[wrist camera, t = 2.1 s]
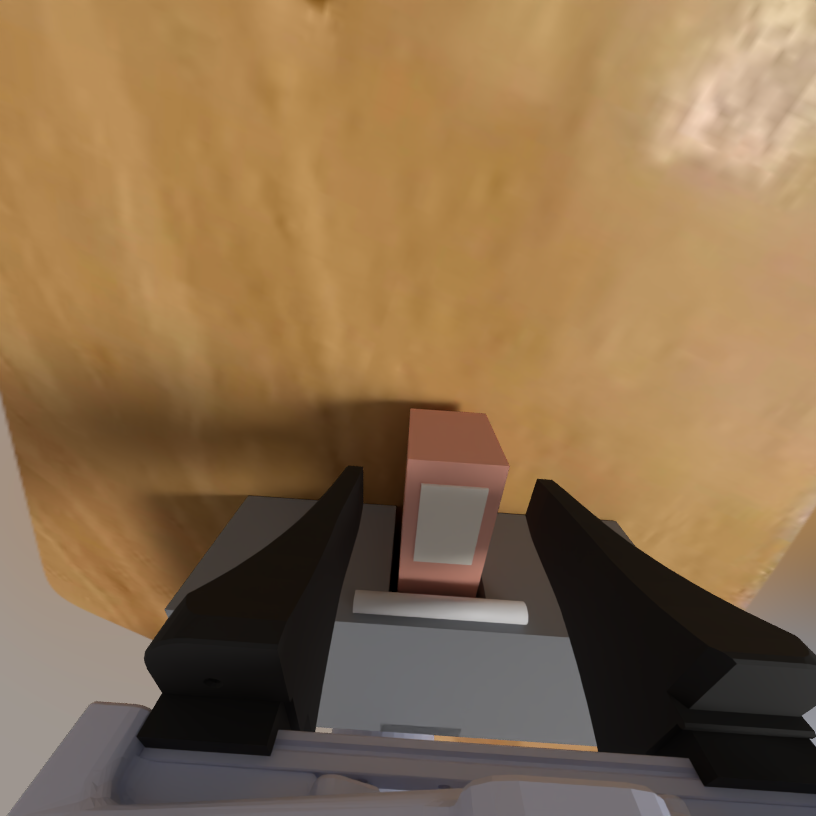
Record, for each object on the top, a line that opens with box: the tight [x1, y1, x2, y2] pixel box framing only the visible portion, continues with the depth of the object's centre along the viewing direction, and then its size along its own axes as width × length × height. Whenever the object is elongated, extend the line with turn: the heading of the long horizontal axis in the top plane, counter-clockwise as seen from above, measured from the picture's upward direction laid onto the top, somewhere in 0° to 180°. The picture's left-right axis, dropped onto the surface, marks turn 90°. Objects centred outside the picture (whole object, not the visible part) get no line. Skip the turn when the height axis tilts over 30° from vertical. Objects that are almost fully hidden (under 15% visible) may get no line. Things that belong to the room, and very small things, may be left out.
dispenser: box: [165, 496, 635, 746], centre depth 17 cm, size 11×22×6 cm, turn 86°
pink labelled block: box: [397, 408, 510, 598], centre depth 15 cm, size 12×4×4 cm, turn 176°
